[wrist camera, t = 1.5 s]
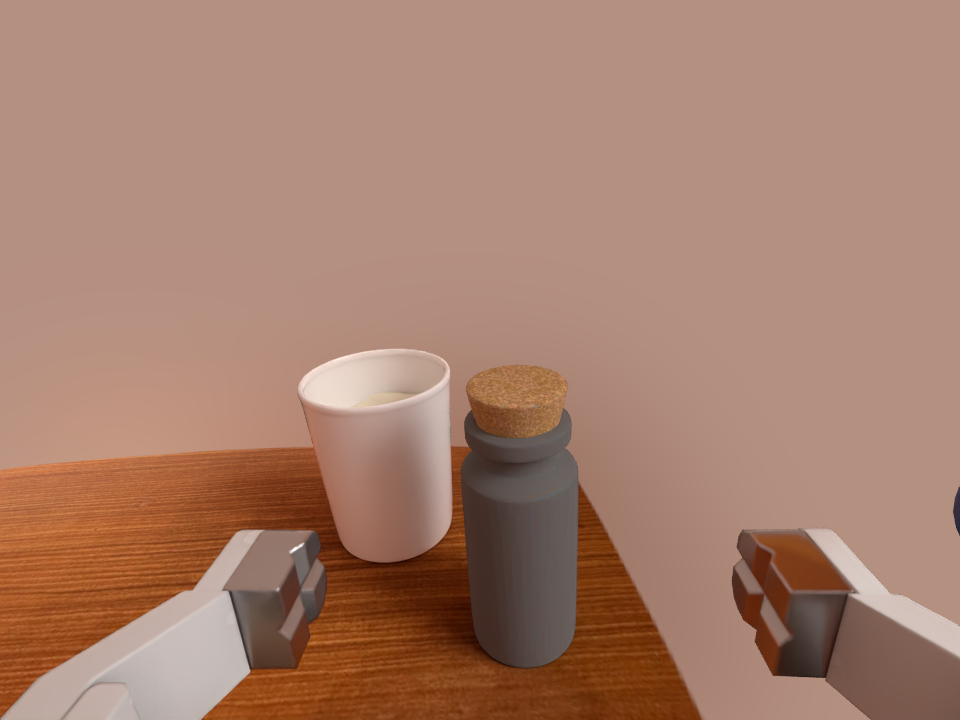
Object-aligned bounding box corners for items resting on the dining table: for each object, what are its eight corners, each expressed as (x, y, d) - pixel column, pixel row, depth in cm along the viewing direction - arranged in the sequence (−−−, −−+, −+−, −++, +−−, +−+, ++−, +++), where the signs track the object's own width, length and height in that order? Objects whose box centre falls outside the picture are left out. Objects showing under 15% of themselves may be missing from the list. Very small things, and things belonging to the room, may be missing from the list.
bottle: (546, 571, 33) (543, 352, 27) (596, 646, 28) (605, 395, 22) (459, 600, 31) (438, 372, 25) (495, 686, 26) (478, 424, 20)
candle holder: (299, 556, 35) (262, 399, 31) (372, 476, 44) (351, 344, 39) (429, 587, 32) (409, 416, 28) (480, 493, 41) (470, 352, 36)
